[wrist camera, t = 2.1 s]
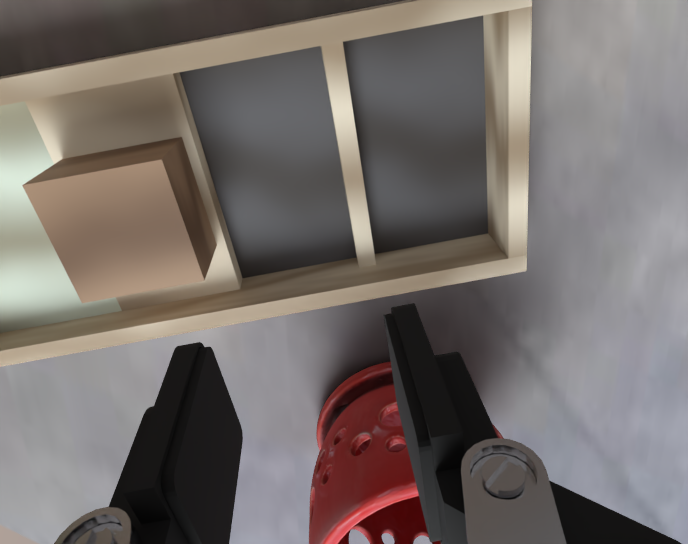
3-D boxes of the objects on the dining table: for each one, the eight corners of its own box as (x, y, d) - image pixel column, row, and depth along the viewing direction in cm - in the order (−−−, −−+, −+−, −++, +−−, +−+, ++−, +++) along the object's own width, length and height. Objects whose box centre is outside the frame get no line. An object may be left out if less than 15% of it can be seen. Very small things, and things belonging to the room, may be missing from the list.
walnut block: (62, 158, 24) (22, 185, 21) (181, 136, 24) (161, 159, 21) (110, 264, 27) (82, 303, 24) (216, 245, 27) (204, 280, 24)
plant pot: (492, 447, 39) (563, 611, 28) (331, 484, 40) (343, 658, 29) (474, 315, 33) (557, 463, 22) (283, 362, 33) (276, 527, 23)
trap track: (-154, 105, 24) (-222, 120, 21) (501, -18, 23) (532, -21, 20) (-7, 336, 30) (-41, 374, 27) (503, 243, 30) (526, 271, 27)
